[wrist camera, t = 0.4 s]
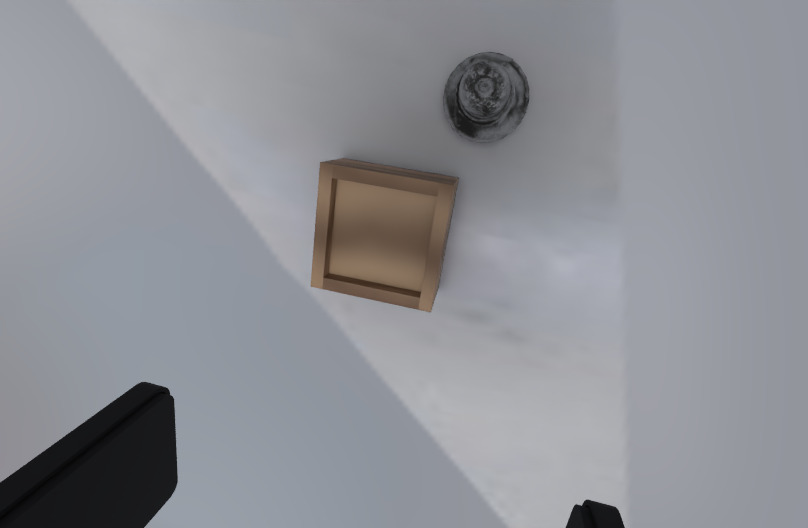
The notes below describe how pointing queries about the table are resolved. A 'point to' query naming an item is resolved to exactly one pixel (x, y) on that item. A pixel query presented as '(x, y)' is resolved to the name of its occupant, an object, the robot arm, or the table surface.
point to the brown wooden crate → (381, 232)
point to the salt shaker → (486, 97)
